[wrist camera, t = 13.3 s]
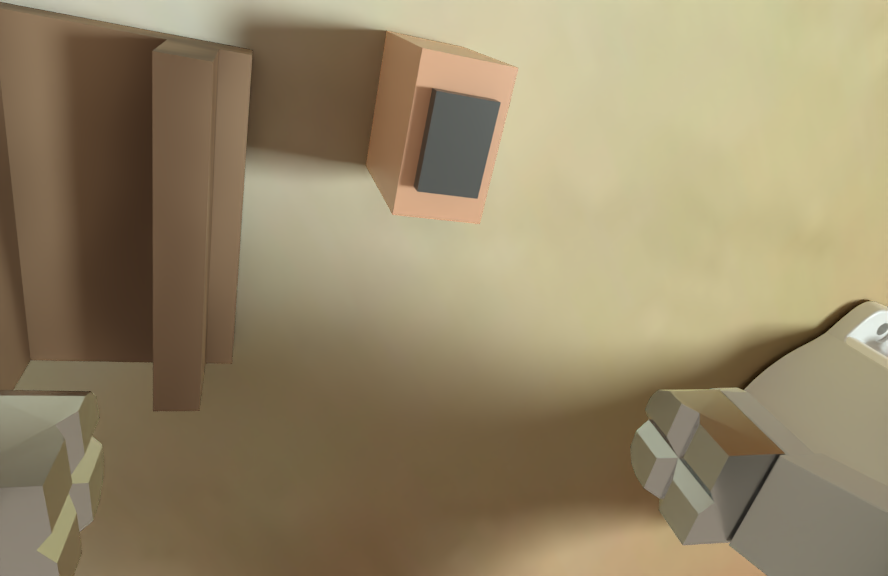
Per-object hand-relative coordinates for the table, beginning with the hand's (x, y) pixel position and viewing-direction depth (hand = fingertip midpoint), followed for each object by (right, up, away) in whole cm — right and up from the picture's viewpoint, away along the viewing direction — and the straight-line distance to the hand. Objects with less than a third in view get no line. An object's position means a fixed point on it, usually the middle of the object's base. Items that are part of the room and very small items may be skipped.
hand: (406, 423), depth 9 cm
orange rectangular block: (-1, +9, +14) cm, 17 cm away
